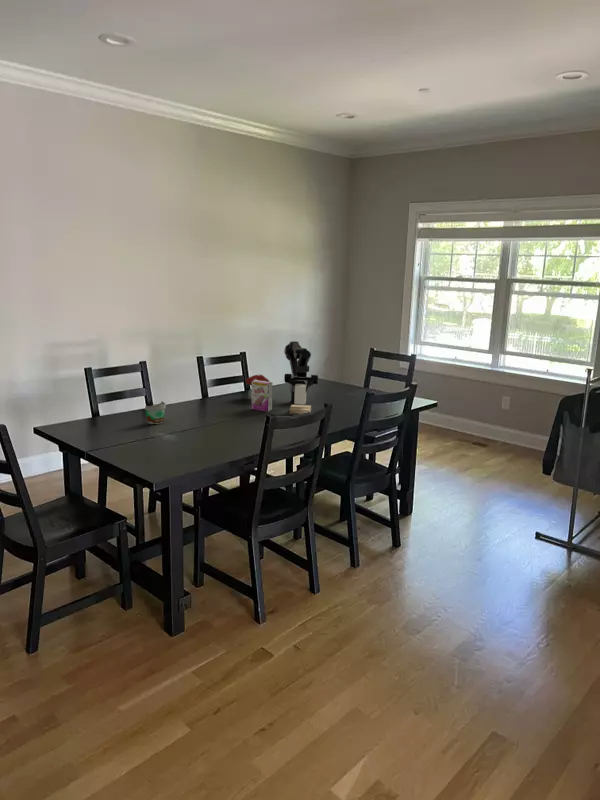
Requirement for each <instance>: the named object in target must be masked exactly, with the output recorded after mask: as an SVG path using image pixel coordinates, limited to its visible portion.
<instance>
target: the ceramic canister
mask: <svg viewBox="0 0 600 800" xmlns="http://www.w3.org/2000/svg"><path fill="white" fill-rule="evenodd" d="M306 386H307V383H306V384H295V399H294V404H293V405H306V404H307V403H306V402H307V392H306Z"/></svg>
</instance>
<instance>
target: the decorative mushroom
mask: <svg viewBox="0 0 600 800" xmlns="http://www.w3.org/2000/svg"><path fill="white" fill-rule="evenodd" d="M254 380H260V381H266V382H271V381H270V380H269V379H268V378H267V377H265V376H264V375H263V374H255V375H252V376H251V375H250V376H249V377H247V378H246V379H245V383H246V384H247V385H249V386H251V381H254Z"/></svg>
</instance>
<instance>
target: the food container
mask: <svg viewBox="0 0 600 800" xmlns="http://www.w3.org/2000/svg"><path fill="white" fill-rule="evenodd" d="M166 408H167V405H166V403H165V401H160V403H157V404H156V403H155V404H152V405H145V408H144V410H145V415H146V423H147V422H149V423H160V422H163V421H165V409H166Z"/></svg>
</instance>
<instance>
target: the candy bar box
mask: <svg viewBox="0 0 600 800" xmlns="http://www.w3.org/2000/svg"><path fill="white" fill-rule="evenodd" d="M273 385H274V384H273V381H272V382H271V381H270V382H266V381H260V380H254V381H251V385H250V386H251V387H250V388H251V389H250V392H251V393H250V394H251V395H250V410H251V409H254V410H253V411H257V410H261V411H260V412H264V411H267V412H266V413H269V412H268V411H270V410H272V411H273ZM270 412H271V411H270Z"/></svg>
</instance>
